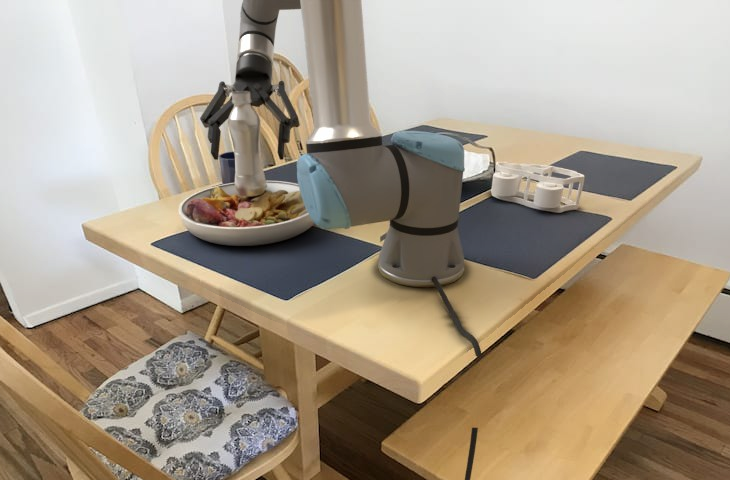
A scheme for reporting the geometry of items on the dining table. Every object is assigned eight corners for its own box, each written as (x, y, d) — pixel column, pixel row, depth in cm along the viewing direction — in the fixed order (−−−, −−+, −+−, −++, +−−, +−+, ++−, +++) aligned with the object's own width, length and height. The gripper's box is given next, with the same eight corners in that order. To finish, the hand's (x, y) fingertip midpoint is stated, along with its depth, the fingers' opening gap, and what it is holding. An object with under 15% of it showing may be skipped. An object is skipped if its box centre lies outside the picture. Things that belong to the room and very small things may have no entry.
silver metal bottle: (230, 198, 114) (217, 95, 103) (244, 188, 119) (233, 89, 108) (259, 201, 112) (248, 96, 101) (272, 190, 117) (263, 90, 107)
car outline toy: (479, 197, 130) (483, 166, 126) (506, 187, 136) (510, 157, 132) (557, 219, 117) (564, 185, 113) (582, 206, 124) (590, 174, 120)
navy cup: (250, 196, 134) (246, 159, 130) (220, 196, 135) (215, 159, 130) (255, 186, 141) (252, 151, 136) (227, 187, 141) (222, 151, 136)
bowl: (258, 192, 137) (255, 160, 132) (350, 219, 120) (350, 183, 116) (154, 228, 118) (146, 192, 113) (246, 266, 101) (241, 225, 97)
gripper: (315, 76, 118) (310, 165, 114) (202, 77, 120) (193, 165, 115) (311, 51, 111) (306, 145, 106) (191, 53, 113) (180, 146, 108)
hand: (247, 156), depth 111 cm, fingers open, 13 cm apart
